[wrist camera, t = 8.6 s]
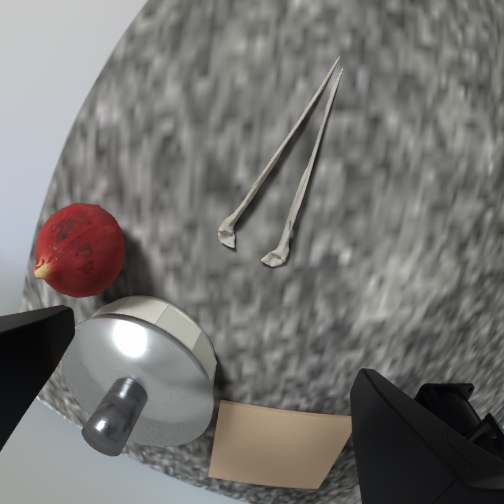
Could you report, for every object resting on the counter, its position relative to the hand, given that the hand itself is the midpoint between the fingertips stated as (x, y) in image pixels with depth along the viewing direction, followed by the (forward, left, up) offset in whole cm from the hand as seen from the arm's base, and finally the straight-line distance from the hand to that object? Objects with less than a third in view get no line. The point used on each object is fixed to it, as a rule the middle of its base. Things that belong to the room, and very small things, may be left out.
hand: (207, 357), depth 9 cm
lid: (+6, +10, -8) cm, 14 cm away
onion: (+10, +1, -13) cm, 16 cm away
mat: (-6, +19, -12) cm, 24 cm away
